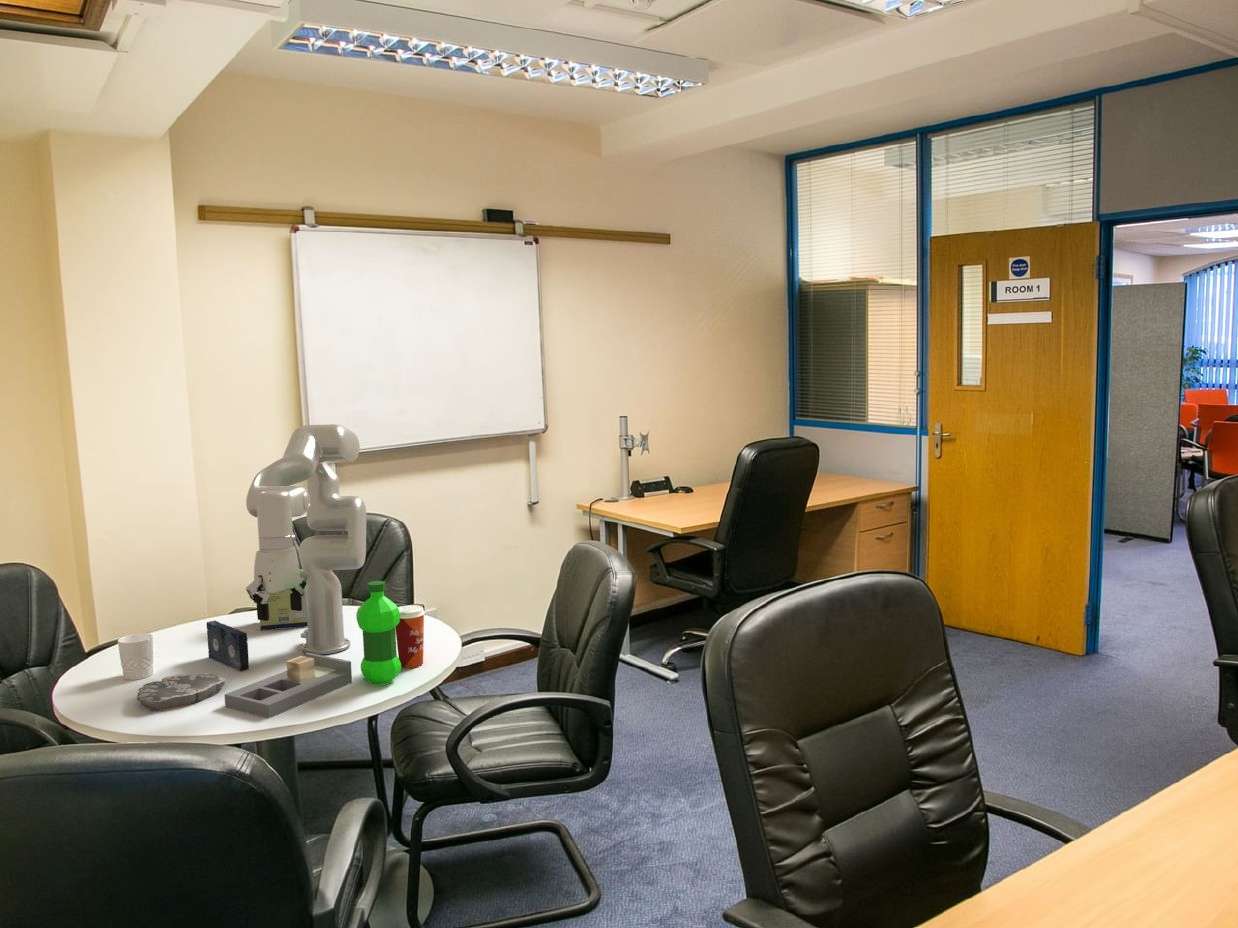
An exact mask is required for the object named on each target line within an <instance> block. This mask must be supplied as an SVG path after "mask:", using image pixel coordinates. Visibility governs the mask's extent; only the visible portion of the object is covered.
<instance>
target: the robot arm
mask: <svg viewBox="0 0 1238 928" xmlns="http://www.w3.org/2000/svg"><path fill="white" fill-rule="evenodd" d="M360 446H361V445H360V440H359V437H358V436H357V434H356V433H355V432H354V431H352V430H351V429H350V428H348V427H346V426H343V425H341V424H336V423H335V424H307V425H306V424H305V425H301V426H298V427H297V428H296V429H294V430H293V432H292V434H291V435H290V438H289V441H288V444H287V446H286V448H285V450H284V453H283V455H282V457H281V458H279V459H277V460H275V461H274V462H273V463H271V464H269V465H268V466H266V467H264V468H262V469H261V470H260V471H259V472H258V473H257V474H256V475H255V476H254V478H253V480H252V481H251V484H250V486H249V489H248V491H247V495H246V500H245V501H246V503H245V505H246V510H247V512H248V513H249V514H250V516H252V517H254V518H257V531H258V534H257V535H258V550H257V551H256V552H255V559H254V566H253V567H254V568H253V581H252V582H250V584H248V585H247V586H246V587H245V591H246V592H247V595H248V596H249V598H250V599H251V600H252V601H253V603H254V604H256V616H257V620H259V621H260V620H263V621H268V620H269V605H268V603H266V601H267V600H268V598H269V596H270V594H274V593H278V592H282V591H286V590H291V591H292V593H291V594H290V604H291V610H295V611H302V597H301V594H303V592H304V590H303V589H304V588H305V596H306V612H307V628H305V629H304V630H303V632H301V633H300V638H302V639H305V643H304V644H303V645H302V652H304V653H305V654H306V653H312V654H317V655H329V654H336V653H339V652H342V651H345V650H347V649H349V647H350V646H351V640H350V639H349V638H346V637H345V630H344V628H345V627H344V614H343V612H344V611H343V593H342V584H341V582H340V580H339V578H338V576H337V575H336V574H335V573H334V572H333V571H341V570H342V571H344V570H357V569H358V570H359V569H360V568H363V566H364V564H365V561H366V556H367V555H366V554H367V553H366V552H367V509H366V505H365V504H366V503H365V502H364V500H363V499H362V498H360V497H359V496H356V495H340V479H339V476H338V474H337V473H336V472H335V470H334V469H333V468H332V467H331V466H330V465H329V463H330V464H331V463H332V464H334V463H353V462H354V461H355V460H357V459H358V457H359V454H360V449H361V447H360ZM304 481H306V483H307V488H305V487H302V486H299V485H296V484H299V483H302V482H304ZM305 514H306V523H307V526H308V528H310V529H311V530H313V531H320V532H321V531H324V532H329V531H330V532H331V531H332V532H333V531H335V532H336V531H346V532H347V534H335V535H334V534H327V535H326V534H325V535H313V536H309V537H306V538H305V539H303V540H302V541H301V542H300V545H299V547H298V553H297V548H296V547H295V545H294V541H295V540H296V536H295V534H293V533H294V532H293V530H294V529H293V518H298V517H301V516H303V515H305ZM298 555H299V557H298ZM299 560H300V565H301V569H300V565H299ZM302 569H303V571H301V570H302ZM263 594H264V595H263ZM262 596H263V597H262Z"/></svg>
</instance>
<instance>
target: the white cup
mask: <svg viewBox="0 0 1238 928" xmlns="http://www.w3.org/2000/svg"><path fill="white" fill-rule="evenodd" d="M117 644H118V645H117V646H118V653H119V660H120V665H121V668H122V676H123V679H125V680H127V681H128V680H129V681H137V680H141V679H142V680H143V679H146V678H148V677H151V676H152V675H153V673H154V646H153V645H154V643H153V634H151V633H147V632H146V633H134V634H130V635H129V634H127V635H125V636H122V637H120V638H118V639H117Z"/></svg>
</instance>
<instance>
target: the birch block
mask: <svg viewBox="0 0 1238 928" xmlns="http://www.w3.org/2000/svg"><path fill="white" fill-rule="evenodd" d="M286 671H287V677H288V679H289V680H293V681H298V682H302V681H305V680H307V679H310V678H312V677H315V664H314V658H310V657H305V655H304V656H303V655H299V656H297V657H295V658H294V657H293V658H291V659H289V660H286Z"/></svg>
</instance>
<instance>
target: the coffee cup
mask: <svg viewBox="0 0 1238 928" xmlns="http://www.w3.org/2000/svg"><path fill="white" fill-rule="evenodd" d="M397 607H398V609H399V612H400V621H399V624H398V625H397V626H396V627H395V632H396V649H397V654H398V655H397V656H398V658H399V660H400V663H401V669H416V668H419V666H420V667H421V666H423V665H424V642H425V641H424V635H425V634H424V632H425V631H424V629H425V628H424V627H425V624H424V623H425V621H424V620H425V617H424V616H425V614H426V611H425V609H424V607H423V606H422V605H416V604H415V605H414V604H413V605H412V604H411V605H410V604H409V605H408V604H407V605H401V606H397ZM422 664H423V665H422ZM415 667H416V668H415Z"/></svg>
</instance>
